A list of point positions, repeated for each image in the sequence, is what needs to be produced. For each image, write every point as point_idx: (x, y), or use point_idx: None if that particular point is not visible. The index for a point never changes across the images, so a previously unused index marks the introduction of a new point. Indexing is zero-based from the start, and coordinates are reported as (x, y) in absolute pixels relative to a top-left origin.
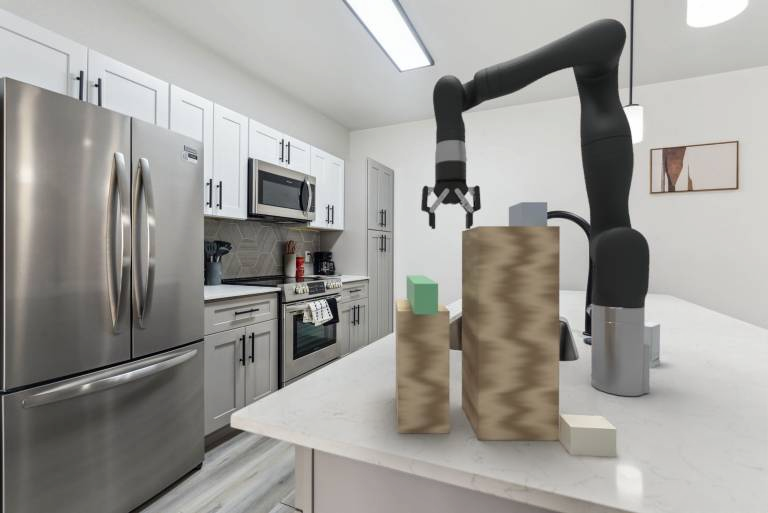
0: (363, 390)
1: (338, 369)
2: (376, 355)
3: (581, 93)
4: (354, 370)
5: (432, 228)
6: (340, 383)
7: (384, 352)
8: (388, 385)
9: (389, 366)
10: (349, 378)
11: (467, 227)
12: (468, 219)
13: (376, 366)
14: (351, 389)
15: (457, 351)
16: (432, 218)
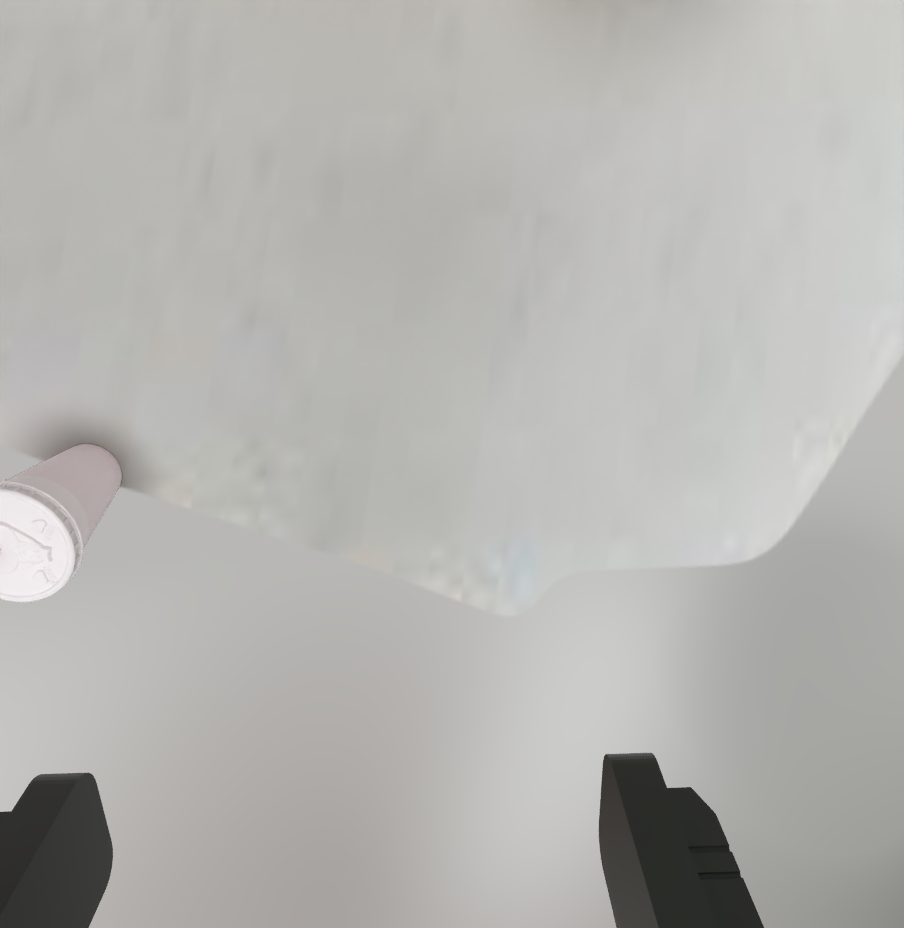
0: (812, 15)
1: (897, 283)
2: (718, 483)
3: None
4: (830, 272)
5: (646, 755)
6: (900, 100)
7: (679, 527)
8: (704, 81)
9: (675, 331)
10: (859, 165)
11: (86, 777)
12: (2, 882)
13: (731, 329)
14: (860, 26)
15: (353, 553)
16: (699, 886)
